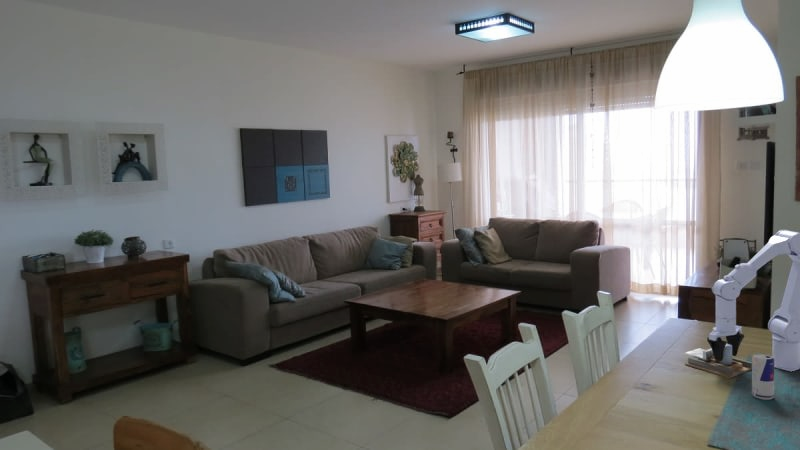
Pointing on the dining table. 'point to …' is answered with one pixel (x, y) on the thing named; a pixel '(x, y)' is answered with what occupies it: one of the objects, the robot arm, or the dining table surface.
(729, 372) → the wooden square tray
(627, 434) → the dining table surface
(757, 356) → the energy drink
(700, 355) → the cover
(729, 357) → the light blue rounded cylinder
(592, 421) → the dining table surface
